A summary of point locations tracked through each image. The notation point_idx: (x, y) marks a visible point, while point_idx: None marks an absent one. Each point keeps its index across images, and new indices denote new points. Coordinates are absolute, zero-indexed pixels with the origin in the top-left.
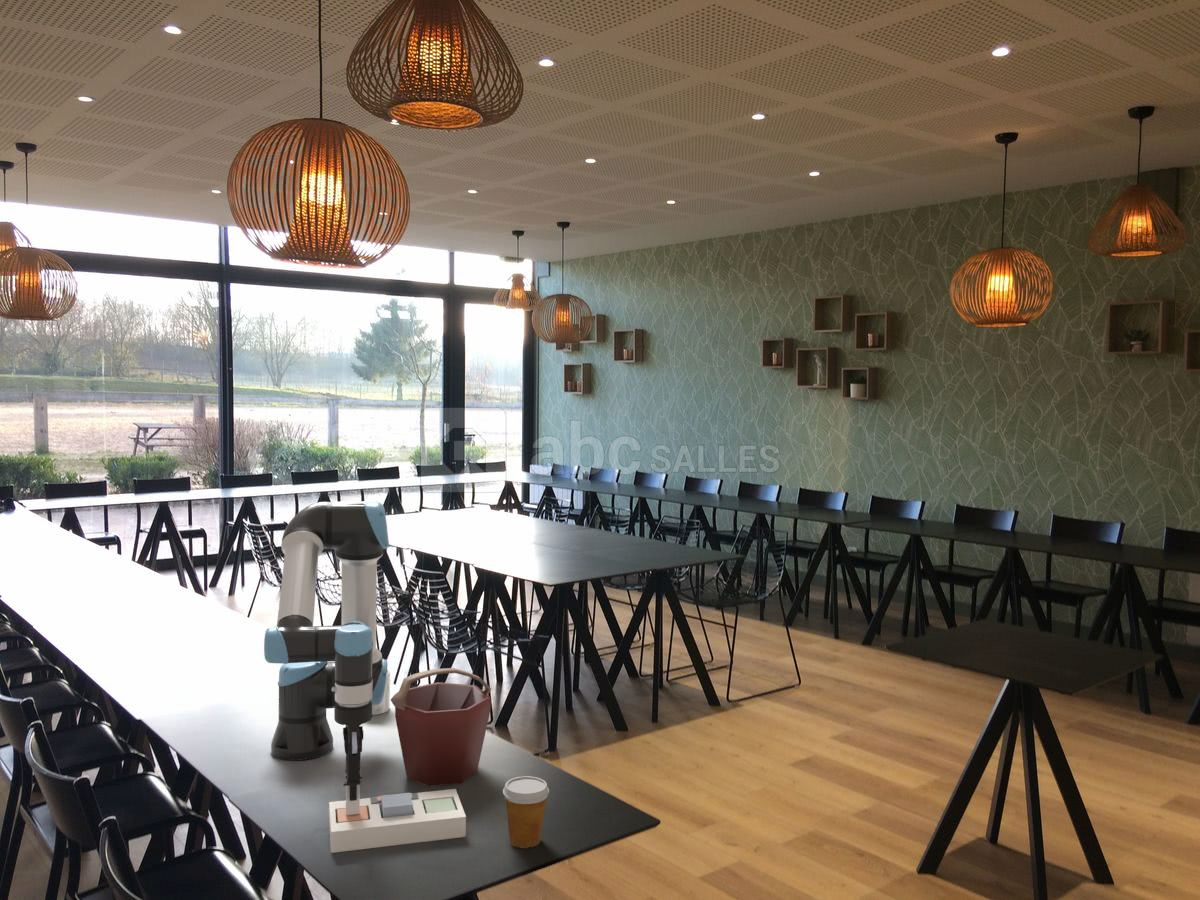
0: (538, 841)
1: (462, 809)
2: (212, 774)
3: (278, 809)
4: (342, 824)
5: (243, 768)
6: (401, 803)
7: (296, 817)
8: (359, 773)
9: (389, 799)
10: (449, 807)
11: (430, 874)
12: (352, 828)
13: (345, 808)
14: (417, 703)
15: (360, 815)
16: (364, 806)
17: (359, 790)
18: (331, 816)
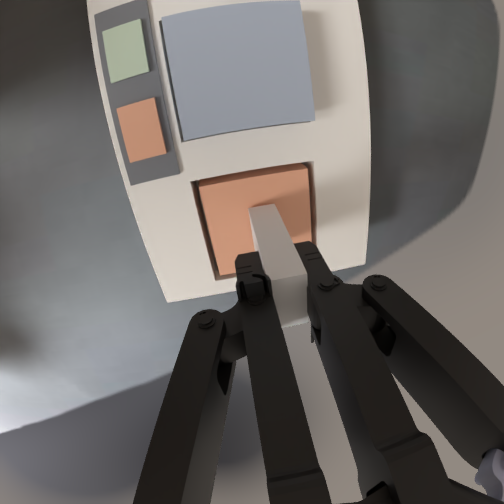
0: None
1: None
2: (54, 415)
3: (126, 357)
4: (330, 243)
5: (24, 394)
6: (283, 43)
7: (155, 329)
8: (432, 319)
9: (230, 97)
10: None
11: (463, 31)
12: (363, 212)
13: (216, 253)
14: None
15: (277, 197)
16: (201, 194)
17: (296, 252)
18: None
